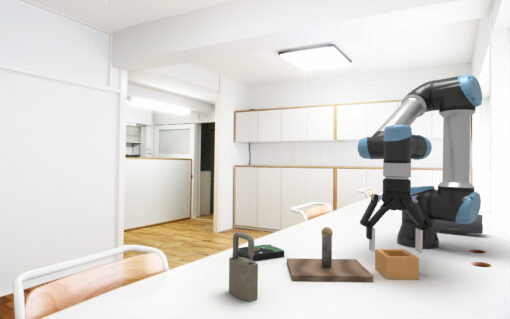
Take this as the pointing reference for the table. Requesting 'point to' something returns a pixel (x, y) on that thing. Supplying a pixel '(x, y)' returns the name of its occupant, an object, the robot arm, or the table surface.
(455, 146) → the robot arm
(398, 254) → the hollow square frame
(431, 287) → the table surface
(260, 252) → the disk drive
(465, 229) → the bluetooth speaker
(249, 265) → the padlock
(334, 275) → the wooden peg board
